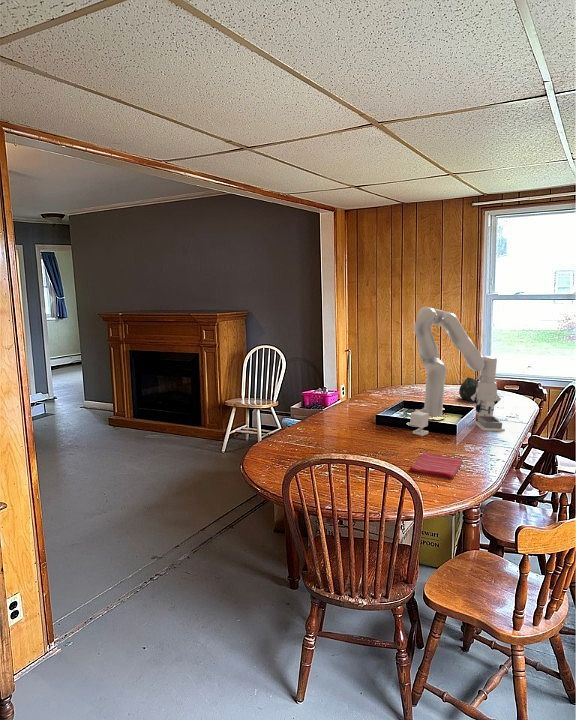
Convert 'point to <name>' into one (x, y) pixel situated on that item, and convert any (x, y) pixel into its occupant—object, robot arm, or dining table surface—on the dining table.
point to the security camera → (419, 422)
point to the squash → (468, 389)
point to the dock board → (489, 423)
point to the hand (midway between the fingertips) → (484, 411)
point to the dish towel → (436, 466)
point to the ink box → (485, 408)
